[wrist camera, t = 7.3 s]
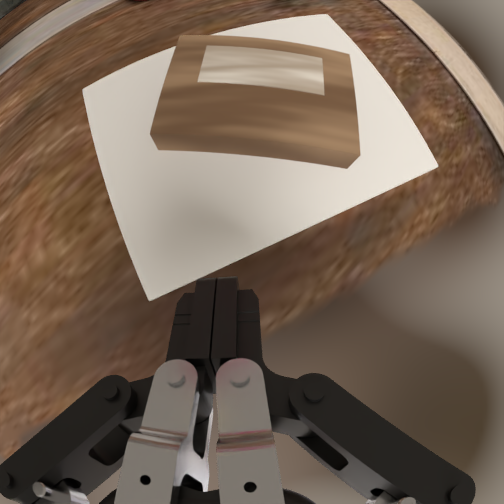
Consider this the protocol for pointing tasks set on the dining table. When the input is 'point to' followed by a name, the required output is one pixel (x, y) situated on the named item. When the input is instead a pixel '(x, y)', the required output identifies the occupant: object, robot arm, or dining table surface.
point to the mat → (237, 168)
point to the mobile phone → (8, 6)
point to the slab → (258, 100)
